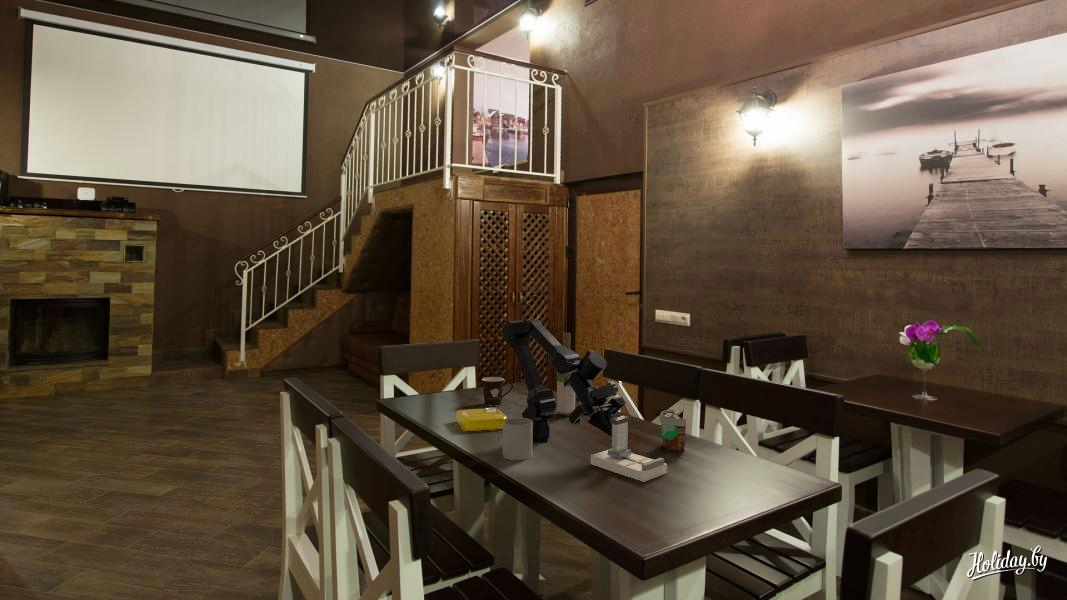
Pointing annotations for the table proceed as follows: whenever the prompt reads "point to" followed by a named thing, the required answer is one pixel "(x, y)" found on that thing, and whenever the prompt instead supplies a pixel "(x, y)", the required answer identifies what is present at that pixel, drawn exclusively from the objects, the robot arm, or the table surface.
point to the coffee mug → (494, 390)
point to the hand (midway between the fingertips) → (613, 435)
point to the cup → (517, 438)
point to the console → (631, 465)
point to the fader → (619, 437)
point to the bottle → (565, 393)
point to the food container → (672, 430)
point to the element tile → (480, 419)
